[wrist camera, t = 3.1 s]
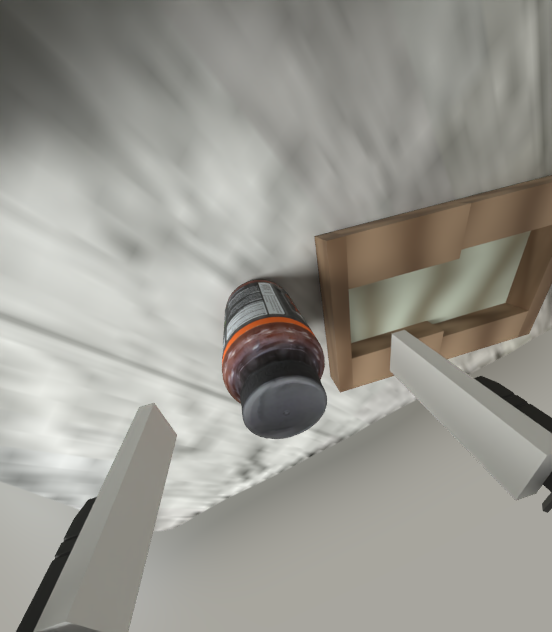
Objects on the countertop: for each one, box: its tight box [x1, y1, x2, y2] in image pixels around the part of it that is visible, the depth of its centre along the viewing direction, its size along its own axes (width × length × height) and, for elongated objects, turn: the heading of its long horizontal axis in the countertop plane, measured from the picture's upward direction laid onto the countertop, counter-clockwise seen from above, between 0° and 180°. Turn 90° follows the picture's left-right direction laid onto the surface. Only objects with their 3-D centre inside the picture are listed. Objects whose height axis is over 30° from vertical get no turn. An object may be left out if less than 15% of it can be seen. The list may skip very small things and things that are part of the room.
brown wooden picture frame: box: [315, 175, 552, 392], centre depth 21 cm, size 23×16×2 cm
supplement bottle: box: [222, 280, 327, 439], centre depth 15 cm, size 6×6×11 cm
